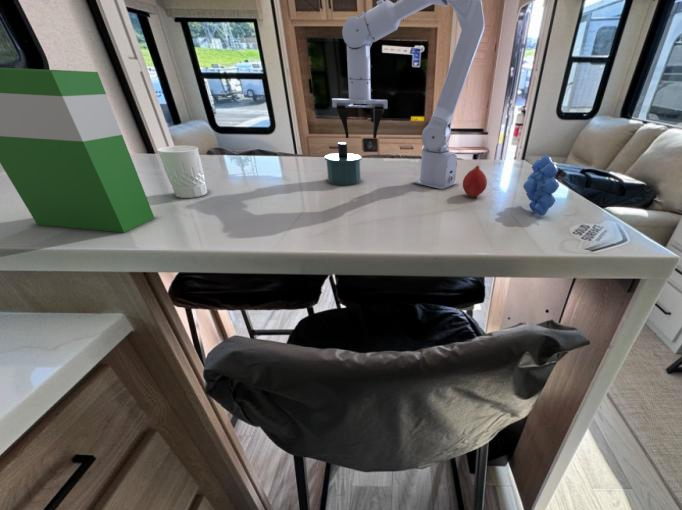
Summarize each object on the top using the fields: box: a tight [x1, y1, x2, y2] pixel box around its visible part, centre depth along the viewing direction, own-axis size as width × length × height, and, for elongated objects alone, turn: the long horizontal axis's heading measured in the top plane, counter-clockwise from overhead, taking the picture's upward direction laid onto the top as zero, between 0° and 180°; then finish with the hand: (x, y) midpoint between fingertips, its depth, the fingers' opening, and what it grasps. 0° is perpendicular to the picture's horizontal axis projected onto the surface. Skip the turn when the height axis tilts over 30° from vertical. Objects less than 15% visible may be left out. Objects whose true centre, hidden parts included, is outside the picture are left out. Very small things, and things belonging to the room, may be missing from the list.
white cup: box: [156, 145, 208, 199], centre depth 77 cm, size 8×8×10 cm
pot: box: [326, 160, 361, 186], centre depth 92 cm, size 9×9×6 cm
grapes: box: [522, 155, 560, 217], centre depth 74 cm, size 12×7×12 cm, turn 4°
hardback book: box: [0, 67, 155, 233], centre depth 57 cm, size 18×7×24 cm, turn 82°
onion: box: [462, 165, 488, 198], centre depth 82 cm, size 6×6×8 cm
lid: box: [324, 141, 362, 163], centre depth 90 cm, size 10×10×4 cm
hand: (361, 137), depth 94 cm, fingers open, 7 cm apart
